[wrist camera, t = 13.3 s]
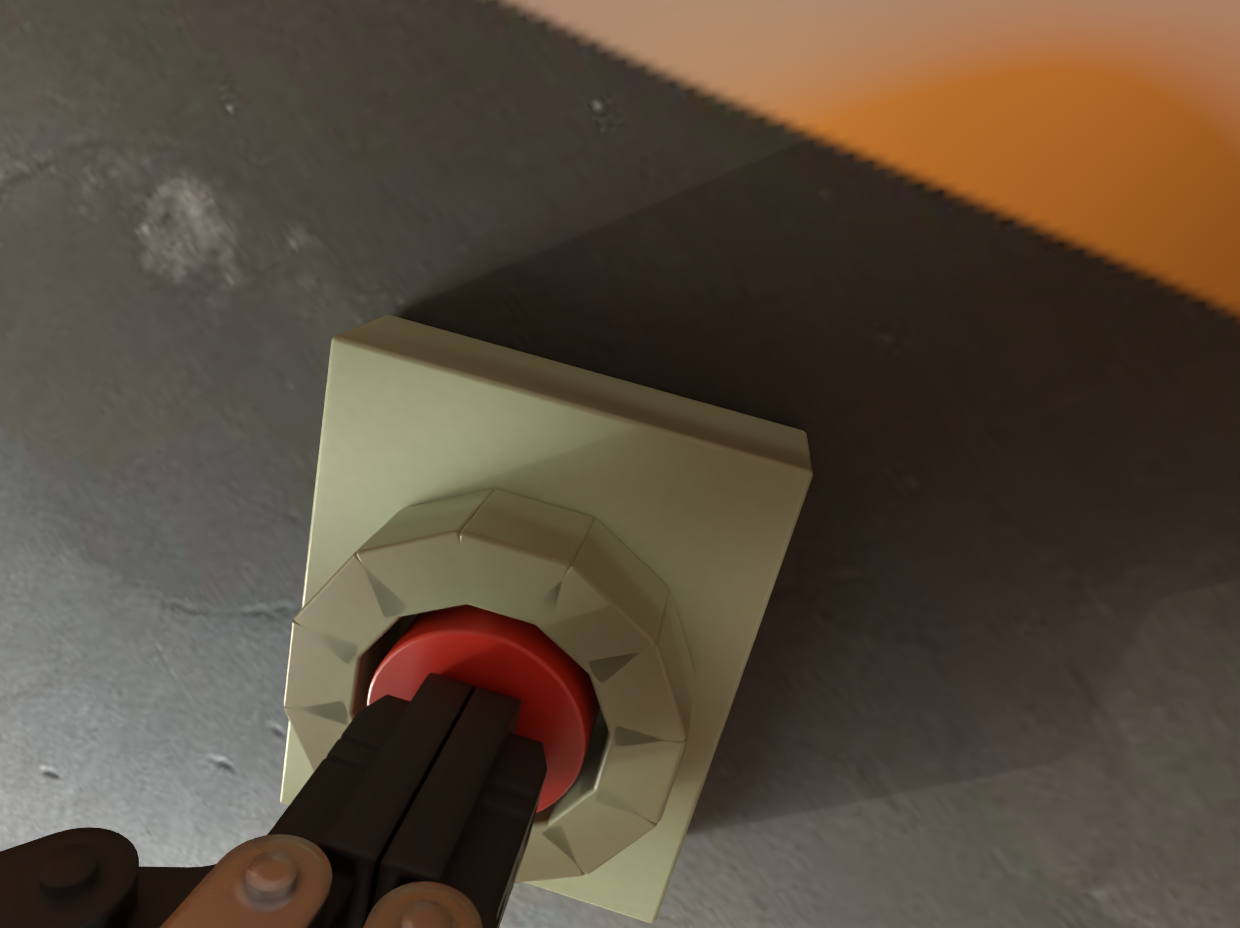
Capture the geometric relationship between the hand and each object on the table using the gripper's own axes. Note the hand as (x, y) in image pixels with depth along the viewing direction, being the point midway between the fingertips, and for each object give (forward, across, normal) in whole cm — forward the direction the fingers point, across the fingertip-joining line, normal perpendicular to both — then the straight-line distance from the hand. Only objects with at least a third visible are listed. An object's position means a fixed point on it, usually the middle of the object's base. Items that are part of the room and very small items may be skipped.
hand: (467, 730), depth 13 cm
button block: (+4, 0, 0) cm, 4 cm away
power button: (+2, 0, 0) cm, 2 cm away
